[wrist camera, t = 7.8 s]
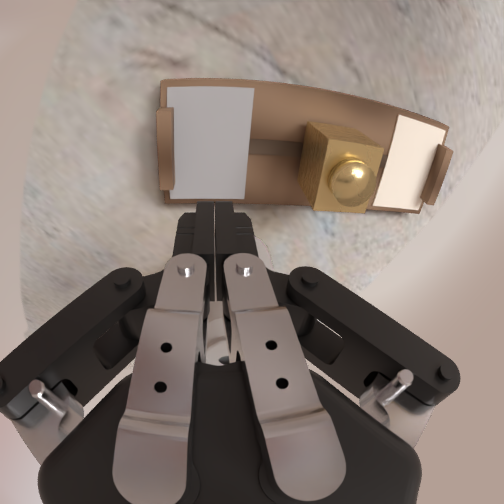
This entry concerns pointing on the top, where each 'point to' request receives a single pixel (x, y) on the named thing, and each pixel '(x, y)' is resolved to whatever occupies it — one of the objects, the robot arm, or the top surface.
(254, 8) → the top surface
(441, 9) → the top surface
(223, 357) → the can
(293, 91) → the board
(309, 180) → the brass knob
